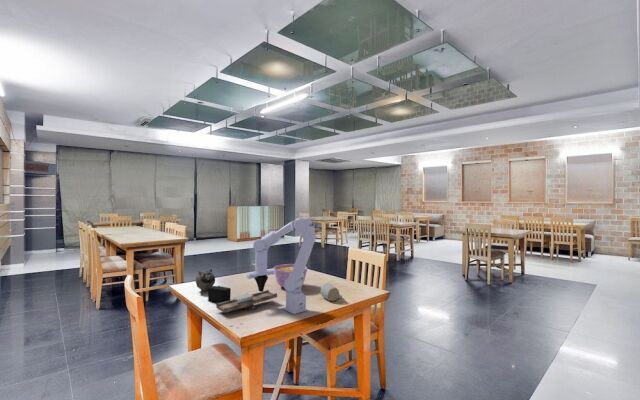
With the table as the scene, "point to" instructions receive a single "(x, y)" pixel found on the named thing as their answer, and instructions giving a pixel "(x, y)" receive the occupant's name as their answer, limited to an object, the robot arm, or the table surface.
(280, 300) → the table surface
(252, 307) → the pivot stand
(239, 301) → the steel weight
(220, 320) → the table surface
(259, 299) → the beam
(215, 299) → the digital camera
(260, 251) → the robot arm
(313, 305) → the table surface
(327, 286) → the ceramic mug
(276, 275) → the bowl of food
